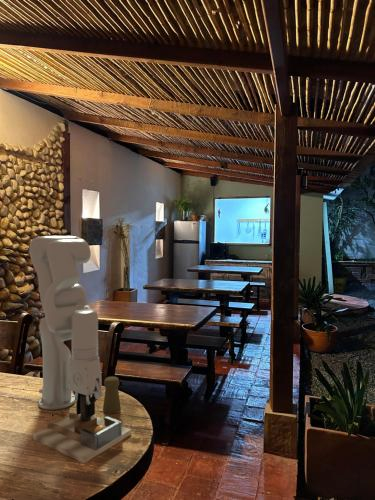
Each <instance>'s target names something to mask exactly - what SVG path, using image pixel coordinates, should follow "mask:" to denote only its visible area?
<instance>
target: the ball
mask: <svg viewBox="0 0 375 500" xmlns="http://www.w3.org/2000/svg"><path fill="white" fill-rule="evenodd" d="M105 428H107V427H106V426H105V425H99V426H97V427H96V429H95V431H94V433H95V434H96V433H98V432H99V431H101V430H103V429H105Z"/></svg>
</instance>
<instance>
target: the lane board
mask: <svg viewBox="0 0 375 500" xmlns="http://www.w3.org/2000/svg"><path fill="white" fill-rule="evenodd" d="M93 416H94V417H97V426H99V425H104V419H103V418H101V417H98V416H96V415H93ZM79 418H80V414H79V415H77V414H76V413H75V412H72V411H70V412H68V417H65V418H63V419H61V420H59V421H57V422H55V423H54V422H51V421H48V422H47V424H46V427H45V428H42V429H40V430H38V431H37V432H34V433H33V434H32V439H33V440H35V441H37V442H39V443H41V444H42V445H45V446H47V447H49V448H51V449H53V450H55V451H58V452H60V453H61V454H63V455H66V456H68V457H70V458H72V459H75V460H76V461H78V462H80V463H82V464H86V463H87V462H88V461H90V460H92V459H94V458H96V457H97V456H98V455H100V454H102V453H103V452H106V450H108V449H110V448H111V447H113V446H114V445H117V444H119V443H120V442H121V441H123V440H124V439H126V438H127V437H129V436H131V435H132V429H131V428H129V427H126V426H122V435H121V436H119V437H118V438H116V439H114V440H113V441H111V442H109V443H108V444H106V445H104V446H103V447H101V448H99V449H98V450H96V451H95V450H93V449H90V448H88V447H86V446H84V445H81V436H80V434H77V433H75V432H74V420H76V419H79Z"/></svg>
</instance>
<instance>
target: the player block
mask: <svg viewBox="0 0 375 500" xmlns="http://www.w3.org/2000/svg"><path fill="white" fill-rule="evenodd" d="M91 397H92V395H90V398H91ZM85 404H87V402H86V395H83V394H82V395H80V418H79V419H76V420H74V432H75V433H77V434H80V430H81V429H86V430H88V431H90V432H93V433H94V431H95V429H96V427H97V417H98V416H96V417H94V416H95V415H93V416H91V417H89V418H85Z"/></svg>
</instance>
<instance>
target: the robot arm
mask: <svg viewBox="0 0 375 500" xmlns="http://www.w3.org/2000/svg"><path fill="white" fill-rule="evenodd" d="M28 247H29V257H30V260H31V263H32V265H33V268H34V270H35V272H36V275H37V280H38V289H39V299H40V303H41V307H42V309H43V312H44V317H43V318H42V319H41V320H40V321H39V326H38V327H39V329H38V330H39V335H40V341H41V349H42V350H41V351H42V387H41V388H40V389H39V390H38V392H39V393H40V394H41V398H39V400H38V406H39V407H40V409H43V410H46V411H47V410H50V411H54V410H62V409H65V408H68V407H71V406H72V405H73V404H76V406H75V407H76V408H75V410H76V413H75V414H77V415H79V414H80V395H82V394H83V395H86V402H87V404H85V418H89V417H91V416H95V415H96V402H97V400H98V399H101V398H103V395H104V394H103V393H102V385H103V384H102V383H103V382H102V379H103V378H102V368H101V361H100V357H99V314H98V312H97V311H96V310H95V309H93V307H92V306H90V305H89V304H88V298H87V292H86V289H85V288H84V286H83V285H81V284H79V283H78V282H79V281H80V279H81V275H80V271H79V269H78V264H87V263H88V262H90V259H91V257H92V256H91V255H92V254H91V248H90V245H89V243H88V241H86V240H85V239H84V238H80V237H78V236H75V235H74V236H73V235H43V236H37V237H34V238H32V239H31V241H30V242H29V246H28ZM69 340H70V341H71V350H70V348H69V347H68V346H67V345H66V344H65V343H64V342H65V341H69ZM90 395H91V398H90Z"/></svg>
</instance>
